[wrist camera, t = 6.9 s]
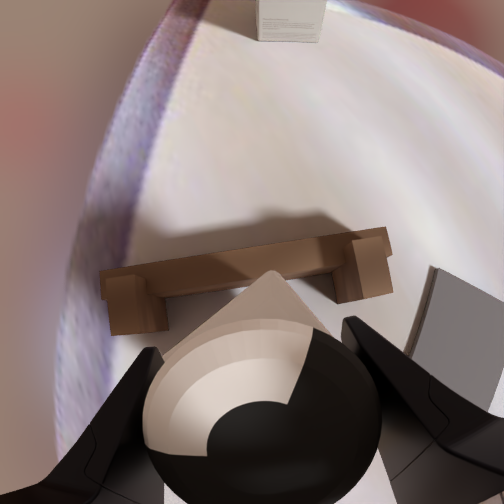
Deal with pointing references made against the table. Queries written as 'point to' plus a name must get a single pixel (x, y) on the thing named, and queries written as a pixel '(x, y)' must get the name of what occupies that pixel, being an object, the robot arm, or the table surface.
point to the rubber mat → (462, 338)
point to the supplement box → (289, 20)
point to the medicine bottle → (262, 406)
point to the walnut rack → (246, 275)
